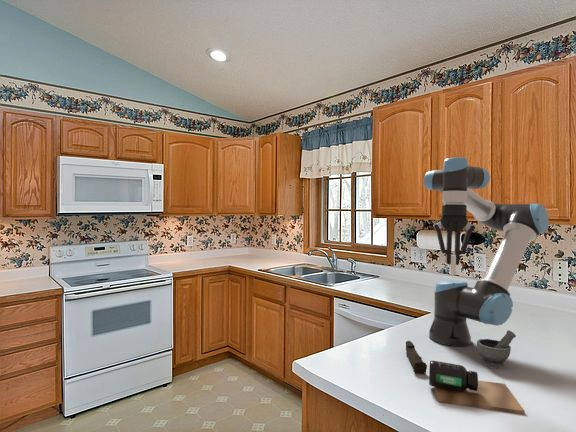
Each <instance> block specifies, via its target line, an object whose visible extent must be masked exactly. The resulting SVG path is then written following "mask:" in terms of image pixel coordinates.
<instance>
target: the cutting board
mask: <svg viewBox="0 0 576 432" xmlns="http://www.w3.org/2000/svg"><path fill="white" fill-rule="evenodd" d="M433 388H434V391H435V395H436V397H437V398H436V399H437V402H439V403H445V404H452V405H459V406H465V407H466V406H467V407H472V408H477V409H478V408H479V409H487V410H494V411H500V412H506V411H507V413H512V414H513V413H514V414H519V415H520V414H522V415H525V413H526V412H525V409H524V407H522V405H521V404H520V403H519V401H518V400H517V398H516V397H515V395H514V394H513V392H511V389H509V387H508V386H507V384H506V383H501V382H494V381H485V380H479V379H478V389H477V391H474V390H469V389H468V388H467V389H466V390H465V391H464V392H458V391H453V390H448V389H443V388H438V387H433Z"/></svg>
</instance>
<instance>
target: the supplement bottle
mask: <svg viewBox="0 0 576 432" xmlns="http://www.w3.org/2000/svg"><path fill="white" fill-rule="evenodd" d="M428 373H429V376H428V377H429V379H428V385H429V386H430V387H433V388H434V387H438V388H443V389H448V390H453V391H458V392H464V391H465V390H466V389H467V388H468V389H469V390H474V391H477V389H478V380H479V377H478V376H479V375H478V372H477V371H473V370H469V371H468V370H467V368H466V367H465V366H464V365H460V364H455V363H450V362H444V361H436V360H429V372H428Z"/></svg>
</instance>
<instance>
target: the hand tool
mask: <svg viewBox="0 0 576 432" xmlns="http://www.w3.org/2000/svg"><path fill="white" fill-rule="evenodd" d="M405 350H406V352H405V353H406V357H407V358H408V359H409V361H410V365H412V367H413V368H412V369H413V372H414V374H417V375H424V374H426V372H427V369H428V365H427V364H426V362H425V361H423V359H422V356H420V355H419V354H418V351H417V350H416V347H415V344H414V343H413V342H412V341H410V340H406V341H405Z"/></svg>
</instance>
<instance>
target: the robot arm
mask: <svg viewBox="0 0 576 432" xmlns="http://www.w3.org/2000/svg"><path fill="white" fill-rule="evenodd" d="M442 166H443V167H442V169H435V170H430V171H427V172H426V173H425V175H424V177H423V185H424V187H425V188H426V190H429V191H438V192H439V193H441V194H442V200H441V202H442V204H443V205H441V218H440V219H439V222H437V223H435V224H433V225H432V226H433V228H434V230H435V232H436V236H437V241H438V244H439V249H440V252H441V253H443V254H445V257H446V258H445V263H446V265H449V270H448V271H449V272H448V273H449V275H451V276H456V272H457V270H456V269H457V266H458V265H460V256H461V255H463V254H464V255H465V254H466V252H467V249H468V245H469V243H470V240H471V235H472V233H473V231H474V230H475V229H476V226H475V225H473V224H471V223H469V220H468V218H467V212H469V213H470V214H472V216H473V218H474V219H475V220H476V221H477V222H479V223H480V224H482V225H484V226H486V227H488V228H491V229H493V230H496V231H500V232H504V235H503V237H502V239H501V241H500V244H499V245H498V247H497V250H496V252H495V254H494V255H493V258H492V260H491V262H490V264H489V265H488V268H487V270H486V273H485V275H484V277H483V278H482V279H479V280H477V281H476V282H475V284H474V286H473V287H470V286H468V282H467V281H464V280H447V281H446V280H444V281H443V280H442V281H438V282H436V284H435V286H434V310H433V311H434V313H433V314H434V315H433V317H434V318H433V320H432V323H431V325H430V327H429V330H428V332H429V333H428V338H429V339H430V340H431V341H433V342H436V343H438V344H442V345H445V346H451V347H452V346H454V347H465V346H466V347H467V346H470V345H471V343H472V337H471V336H472V335H471V333H470V332H471V331H470V329H469V327H468V323H467V319H468V320H472V321H477V322H479V323H482V324H485V325H492V326H501V325H503V324H505V323H506V322H507V321H508V320H509V318H510V317H511V315H512V312H513V309H512V308H513V306H514V305H513V303H514V302H513V300H512V298H511V293H510V291H509V288H510V285H511V283H512V281H513V279H514V277H515V274H516V273H517V270H518V268H519V266H520V263H521V261H522V259H523V258H524V254H525V252H526V250H527V247H528V245H529V243H532V242H533V241H534V242H535V240H536V239H537V237H538V235H539V234H540V235H542V234H546V233H547V232H548V230H549V224H550V223H549V221H550V220H549V214H548V211H547V209H546V207H545V206H544V205H543V204H542V203H541V204H540V203H495V202H493V201H492V200H489V199H485V198H483V197H482V196H481V195H480V194H478V193H477V192H475V191H474V190H478V189H483V188H486V186H487V185H488V184H489V183H490V180H491V175H490V173H489V171H488V170H487V169H486V168H482V167H480V166H473V165H469V159H467V158H466V157H461V156H459V157H456V156H455V157H448V158H447V157H446V158H445V159H444V160H443V164H442ZM472 189H474V190H472ZM442 227H443V228H444V230H445V231H446V246H445V242H444V237H443V233H442ZM464 229H465V230H466V231H465V234H464V237H463V240H462V244H461V231H463V230H464ZM453 232H454V254H452V249H453V248H452V246H453V245H452V241H453Z"/></svg>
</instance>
